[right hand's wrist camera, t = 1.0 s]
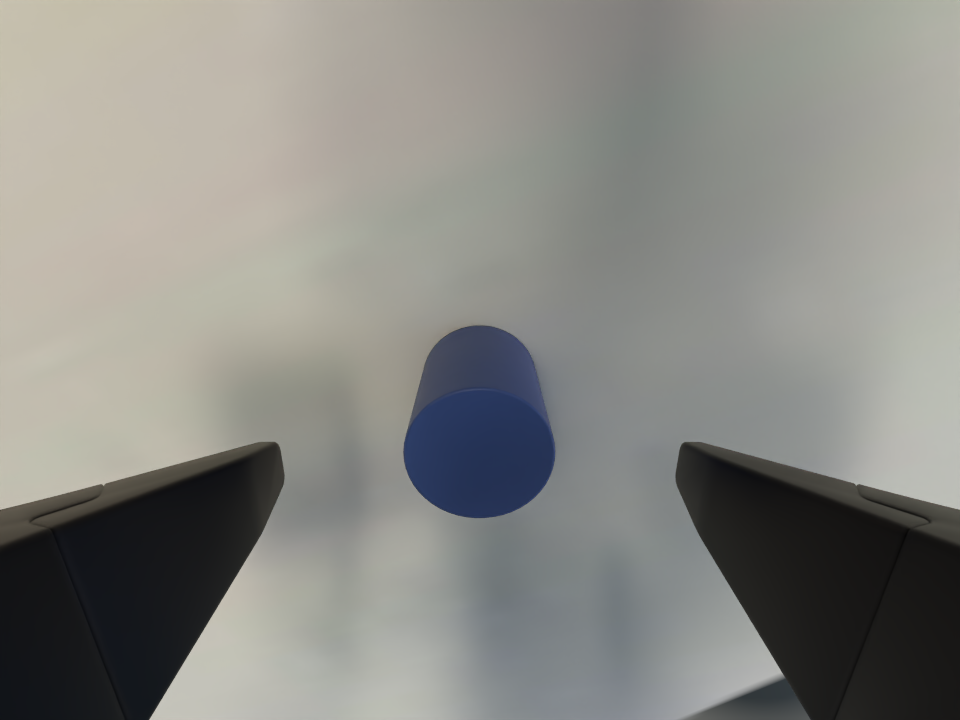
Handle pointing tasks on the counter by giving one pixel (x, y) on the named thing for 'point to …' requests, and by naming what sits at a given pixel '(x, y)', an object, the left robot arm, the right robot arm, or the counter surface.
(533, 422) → the canister
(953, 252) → the counter surface
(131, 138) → the counter surface
